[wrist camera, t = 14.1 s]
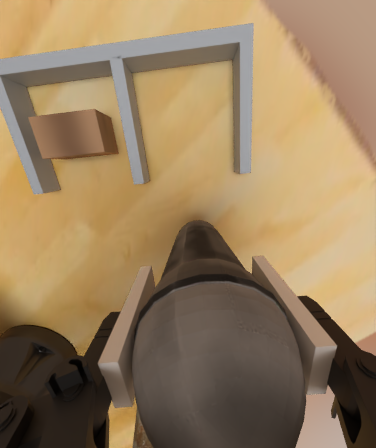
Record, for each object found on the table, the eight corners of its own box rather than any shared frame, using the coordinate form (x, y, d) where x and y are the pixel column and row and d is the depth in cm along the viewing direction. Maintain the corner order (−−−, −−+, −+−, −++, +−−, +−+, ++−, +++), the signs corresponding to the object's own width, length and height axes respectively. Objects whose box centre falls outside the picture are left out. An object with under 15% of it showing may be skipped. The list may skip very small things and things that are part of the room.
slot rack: (52, 190, 24) (34, 194, 22) (11, 75, 20) (-18, 61, 17) (243, 171, 23) (250, 172, 20) (244, 43, 19) (253, 23, 16)
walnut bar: (66, 159, 23) (42, 158, 19) (56, 124, 22) (28, 117, 18) (119, 153, 23) (104, 152, 19) (111, 118, 22) (94, 109, 18)
